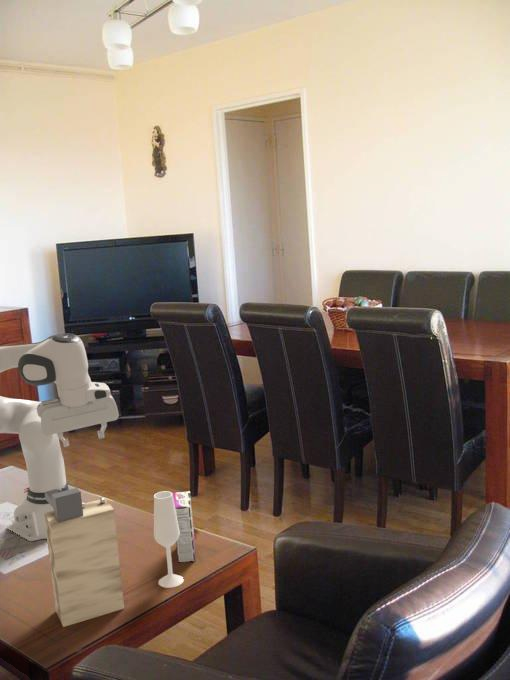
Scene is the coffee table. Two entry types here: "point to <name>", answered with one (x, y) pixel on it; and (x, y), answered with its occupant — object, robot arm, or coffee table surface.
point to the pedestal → (85, 563)
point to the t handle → (65, 504)
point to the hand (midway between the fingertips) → (84, 441)
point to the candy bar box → (184, 527)
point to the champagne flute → (166, 533)
